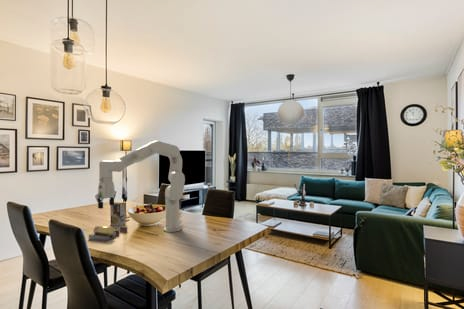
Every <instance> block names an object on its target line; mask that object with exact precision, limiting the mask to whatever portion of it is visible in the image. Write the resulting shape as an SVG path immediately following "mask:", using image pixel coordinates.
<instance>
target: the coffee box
mask: <svg viewBox="0 0 464 309" xmlns="http://www.w3.org/2000/svg"><path fill="white" fill-rule="evenodd" d="M109 206H110V226H117V227H118V226H119V227H120V226H124V225H125V224H126V222H127V220H126V210H127V209H126V202H114V205H109Z"/></svg>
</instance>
